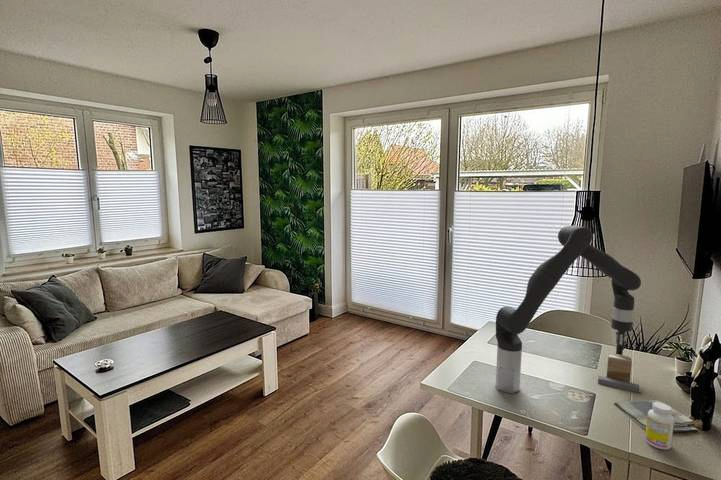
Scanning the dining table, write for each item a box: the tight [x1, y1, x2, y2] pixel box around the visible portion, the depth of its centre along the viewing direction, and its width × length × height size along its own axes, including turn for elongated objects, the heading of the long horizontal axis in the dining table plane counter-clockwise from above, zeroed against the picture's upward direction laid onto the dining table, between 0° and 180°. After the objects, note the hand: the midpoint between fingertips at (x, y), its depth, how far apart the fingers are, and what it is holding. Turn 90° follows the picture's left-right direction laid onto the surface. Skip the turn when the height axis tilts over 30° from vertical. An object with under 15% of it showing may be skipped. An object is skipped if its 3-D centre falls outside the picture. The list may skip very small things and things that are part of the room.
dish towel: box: [613, 399, 700, 434], centre depth 136 cm, size 19×18×3 cm
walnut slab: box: [605, 352, 633, 383], centre depth 161 cm, size 4×8×11 cm, turn 57°
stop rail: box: [597, 375, 640, 394], centre depth 157 cm, size 3×14×2 cm, turn 57°
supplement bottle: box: [644, 402, 674, 450], centre depth 121 cm, size 7×7×13 cm
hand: (618, 357), depth 165 cm, fingers closed
